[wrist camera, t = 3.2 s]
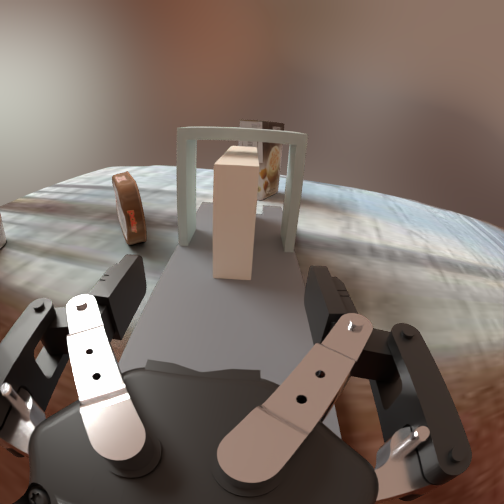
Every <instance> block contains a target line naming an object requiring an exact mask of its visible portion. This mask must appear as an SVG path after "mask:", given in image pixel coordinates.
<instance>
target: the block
mask: <svg viewBox="0 0 504 504" xmlns="http://www.w3.org/2000/svg"><path fill="white" fill-rule="evenodd" d="M258 178H259V160H258V153H257V147H245V146H231V147H230V148H229V149H228V150H227V151H226V152H225V153H224V154H223V155H222V156H221V158H220V159H219V160H218V161H217V162H216V163H215V164H214V185H213V278H222V279H238V280H251V273H252V259H253V246H254V232H255V219H256V205H257V192H258Z"/></svg>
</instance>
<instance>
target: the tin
mask: <svg viewBox="0 0 504 504" xmlns="http://www.w3.org/2000/svg"><path fill="white" fill-rule="evenodd" d="M112 183H113V187H114V190H115V196H116V209H117V213H118V218H119V222H120V225H121V228H122V232H123V235H124V237H125V240H126V242H127V244H128V245H132V244H136V243H140V242H146V241H147V232H146V224H145V217H144V212H143V207H142V202H141V197H140V193H139V190H138V186H137V184H136V181H135V180H134V179H133V177H132V176H131V175H130V173H129V172H128V171H127V172H125V173H120V174H116V175H113V176H112Z"/></svg>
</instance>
